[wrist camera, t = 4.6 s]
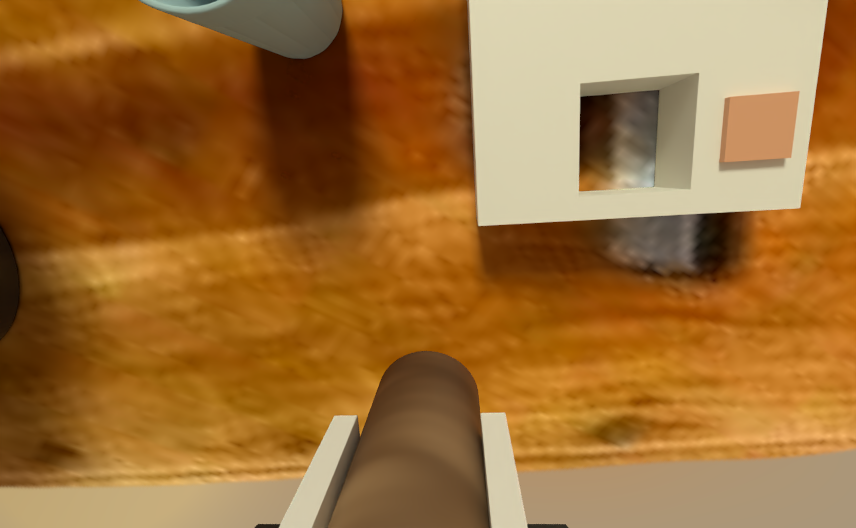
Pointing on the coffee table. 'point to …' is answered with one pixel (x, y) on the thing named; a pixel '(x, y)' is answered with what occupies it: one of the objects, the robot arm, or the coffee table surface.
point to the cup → (265, 22)
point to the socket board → (633, 72)
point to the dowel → (418, 451)
